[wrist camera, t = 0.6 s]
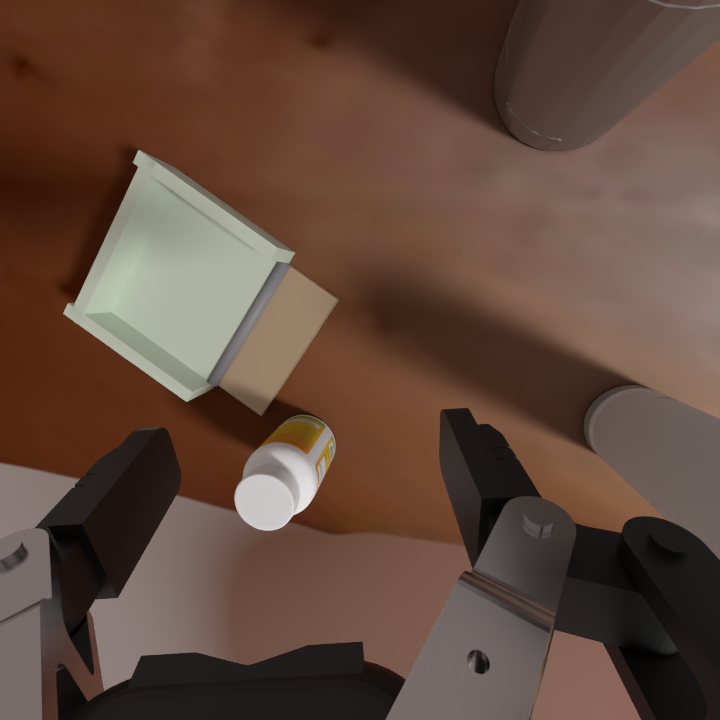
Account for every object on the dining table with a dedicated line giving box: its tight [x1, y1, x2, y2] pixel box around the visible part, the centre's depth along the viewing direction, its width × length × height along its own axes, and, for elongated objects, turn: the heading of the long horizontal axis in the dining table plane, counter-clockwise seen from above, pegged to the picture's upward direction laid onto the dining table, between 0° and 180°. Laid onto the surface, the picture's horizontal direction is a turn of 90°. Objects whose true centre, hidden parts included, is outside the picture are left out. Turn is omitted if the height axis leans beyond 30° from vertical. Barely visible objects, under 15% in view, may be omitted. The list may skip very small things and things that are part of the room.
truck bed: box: [63, 150, 339, 416], centre depth 31 cm, size 14×17×4 cm
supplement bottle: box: [235, 415, 335, 530], centre depth 29 cm, size 5×5×10 cm
